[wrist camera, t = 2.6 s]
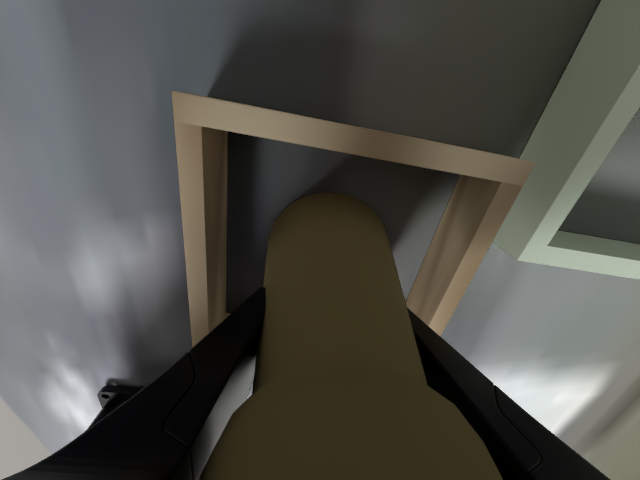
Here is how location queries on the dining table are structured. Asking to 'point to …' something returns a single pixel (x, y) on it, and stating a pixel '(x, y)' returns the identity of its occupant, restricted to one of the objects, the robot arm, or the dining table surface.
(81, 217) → the dining table surface
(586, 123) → the bin
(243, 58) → the dining table surface
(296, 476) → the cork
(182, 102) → the bin
